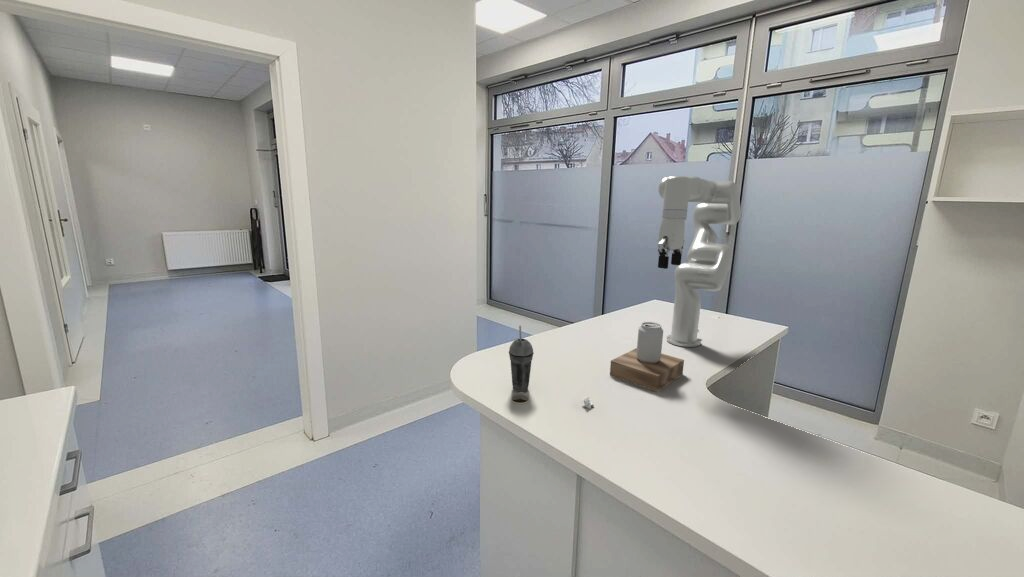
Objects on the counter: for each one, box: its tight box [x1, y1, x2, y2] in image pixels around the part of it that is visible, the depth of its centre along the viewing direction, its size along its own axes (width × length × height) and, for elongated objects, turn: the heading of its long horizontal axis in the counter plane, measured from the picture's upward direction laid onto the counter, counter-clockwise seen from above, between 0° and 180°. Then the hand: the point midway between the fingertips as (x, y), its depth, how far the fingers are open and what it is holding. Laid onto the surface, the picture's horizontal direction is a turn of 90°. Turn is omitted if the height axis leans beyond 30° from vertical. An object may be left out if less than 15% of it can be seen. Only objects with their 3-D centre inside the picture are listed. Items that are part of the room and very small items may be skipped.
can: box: [636, 321, 664, 363], centre depth 134 cm, size 8×8×12 cm
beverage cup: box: [508, 325, 534, 393], centre depth 123 cm, size 7×7×20 cm
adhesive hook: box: [582, 395, 595, 409], centre depth 115 cm, size 3×3×3 cm
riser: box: [609, 347, 685, 392], centre depth 136 cm, size 18×16×5 cm
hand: (669, 266), depth 142 cm, fingers open, 9 cm apart
